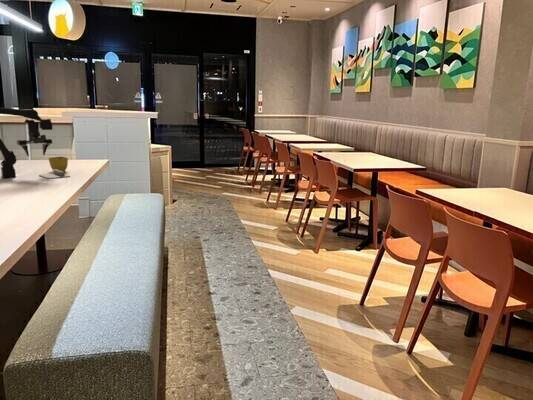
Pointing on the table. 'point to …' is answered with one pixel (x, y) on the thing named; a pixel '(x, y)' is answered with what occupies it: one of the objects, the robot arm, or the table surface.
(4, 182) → the table surface
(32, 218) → the table surface
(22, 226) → the table surface
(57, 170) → the block
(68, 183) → the table surface
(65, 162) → the flower pot
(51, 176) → the slate board
